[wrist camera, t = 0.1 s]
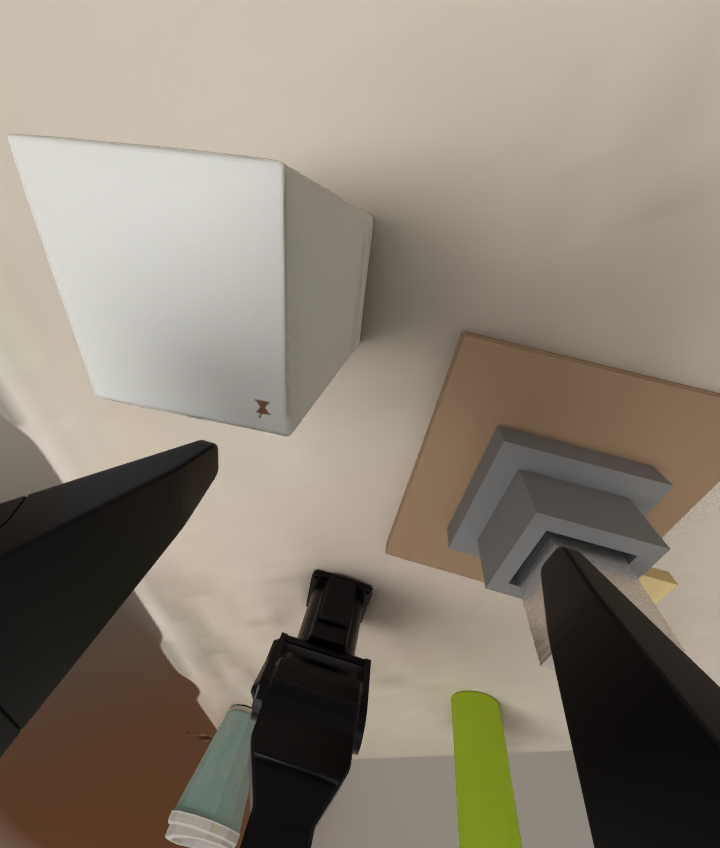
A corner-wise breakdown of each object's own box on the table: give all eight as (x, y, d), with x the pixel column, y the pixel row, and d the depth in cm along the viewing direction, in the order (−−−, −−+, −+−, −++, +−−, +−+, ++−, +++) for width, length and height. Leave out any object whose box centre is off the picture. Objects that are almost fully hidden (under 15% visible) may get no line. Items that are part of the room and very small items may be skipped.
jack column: (553, 530, 24) (625, 691, 15) (498, 515, 24) (539, 665, 15) (582, 490, 22) (686, 650, 13) (523, 474, 22) (585, 620, 13)
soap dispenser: (454, 683, 39) (475, 1020, 22) (508, 701, 39) (572, 1057, 22) (436, 701, 42) (443, 1010, 25) (486, 718, 42) (528, 1042, 25)
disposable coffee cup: (269, 705, 54) (220, 851, 41) (281, 732, 59) (240, 869, 46) (213, 693, 56) (149, 828, 43) (229, 720, 61) (176, 848, 48)
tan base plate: (580, 598, 29) (621, 692, 23) (386, 542, 30) (376, 617, 24) (767, 405, 18) (932, 481, 12) (462, 331, 20) (478, 368, 14)
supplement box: (377, 213, 17) (296, 155, 7) (360, 345, 21) (291, 447, 10) (251, 197, 18) (-10, 119, 7) (256, 327, 22) (88, 404, 11)
